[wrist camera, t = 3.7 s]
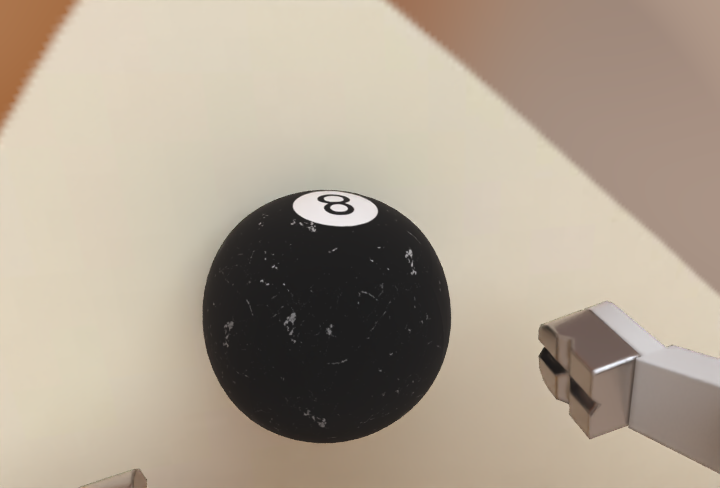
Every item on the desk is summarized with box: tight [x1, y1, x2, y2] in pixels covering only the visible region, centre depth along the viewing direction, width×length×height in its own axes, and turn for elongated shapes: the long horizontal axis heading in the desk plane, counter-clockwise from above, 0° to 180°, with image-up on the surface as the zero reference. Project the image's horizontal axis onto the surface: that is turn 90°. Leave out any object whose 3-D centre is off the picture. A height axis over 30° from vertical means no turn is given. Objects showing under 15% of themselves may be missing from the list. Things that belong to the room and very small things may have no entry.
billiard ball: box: [203, 190, 451, 443], centre depth 14 cm, size 6×6×6 cm
